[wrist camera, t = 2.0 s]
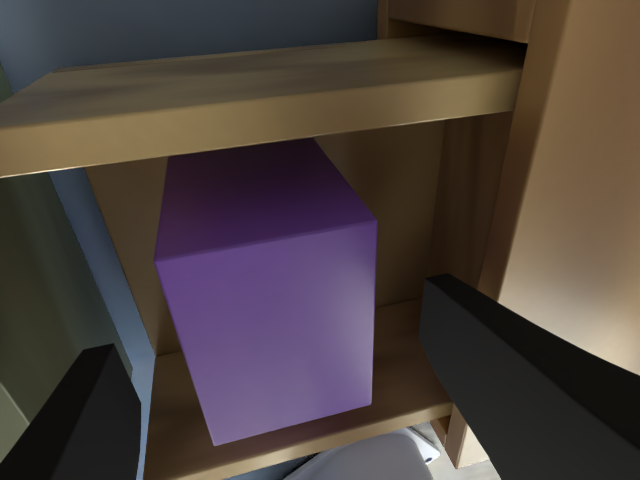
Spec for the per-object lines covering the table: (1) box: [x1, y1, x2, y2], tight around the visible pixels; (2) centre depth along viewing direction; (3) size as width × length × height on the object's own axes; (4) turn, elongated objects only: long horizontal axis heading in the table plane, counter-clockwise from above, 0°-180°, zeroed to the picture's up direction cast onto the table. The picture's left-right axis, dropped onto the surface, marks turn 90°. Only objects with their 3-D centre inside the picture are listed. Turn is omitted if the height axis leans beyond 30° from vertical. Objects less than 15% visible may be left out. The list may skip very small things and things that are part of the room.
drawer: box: [0, 32, 528, 480], centre depth 12 cm, size 19×12×6 cm, turn 92°
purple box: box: [153, 138, 378, 446], centre depth 12 cm, size 4×6×6 cm
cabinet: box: [377, 0, 640, 469], centre depth 15 cm, size 16×14×8 cm
